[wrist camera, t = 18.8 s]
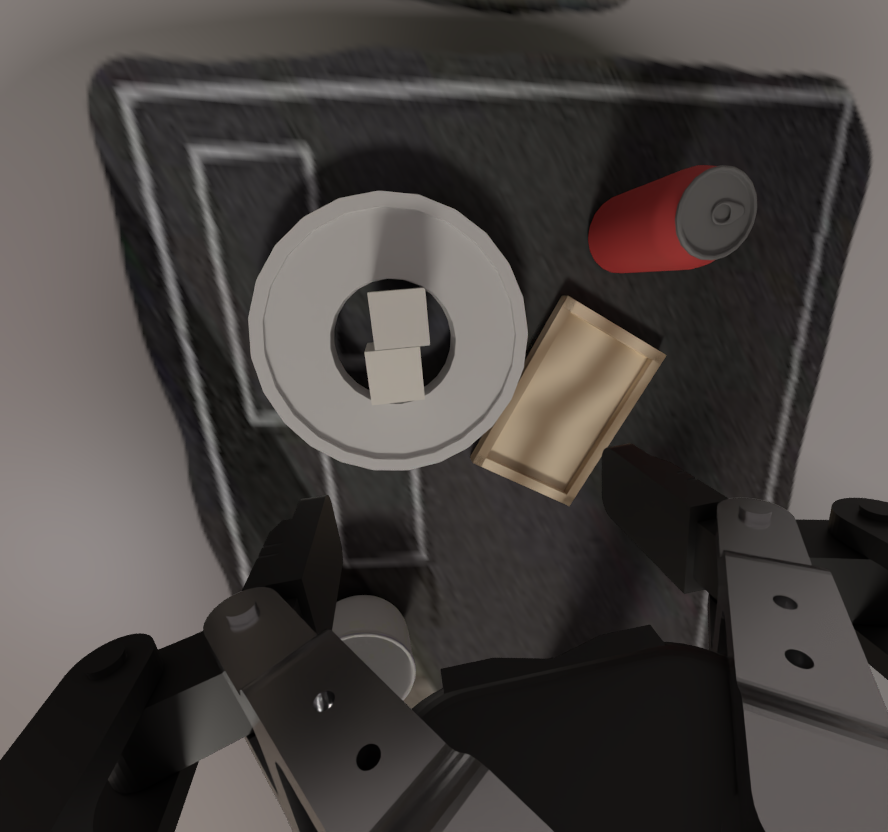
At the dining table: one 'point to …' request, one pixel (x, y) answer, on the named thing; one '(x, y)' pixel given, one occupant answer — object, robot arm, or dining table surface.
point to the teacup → (377, 639)
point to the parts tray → (568, 402)
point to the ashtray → (339, 276)
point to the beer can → (675, 221)
